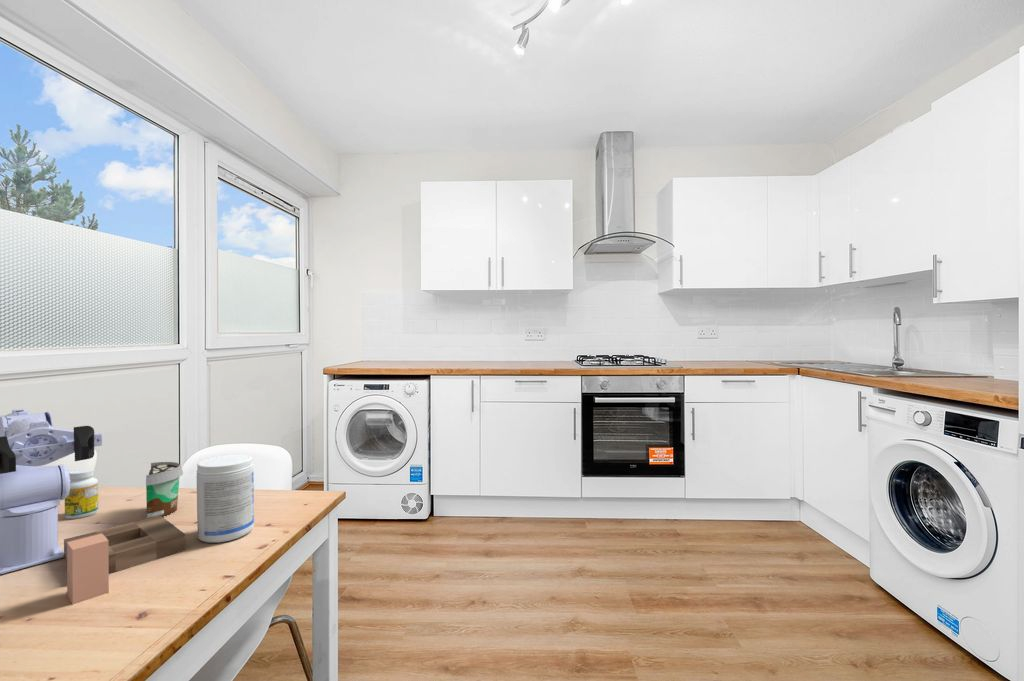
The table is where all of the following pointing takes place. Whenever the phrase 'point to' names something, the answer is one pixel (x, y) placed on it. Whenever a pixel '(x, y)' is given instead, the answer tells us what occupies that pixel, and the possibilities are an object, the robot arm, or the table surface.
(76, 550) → the terracotta peg
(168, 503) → the food container
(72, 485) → the supplement bottle
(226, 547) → the table surface
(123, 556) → the walnut stand board
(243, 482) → the supplement tub
